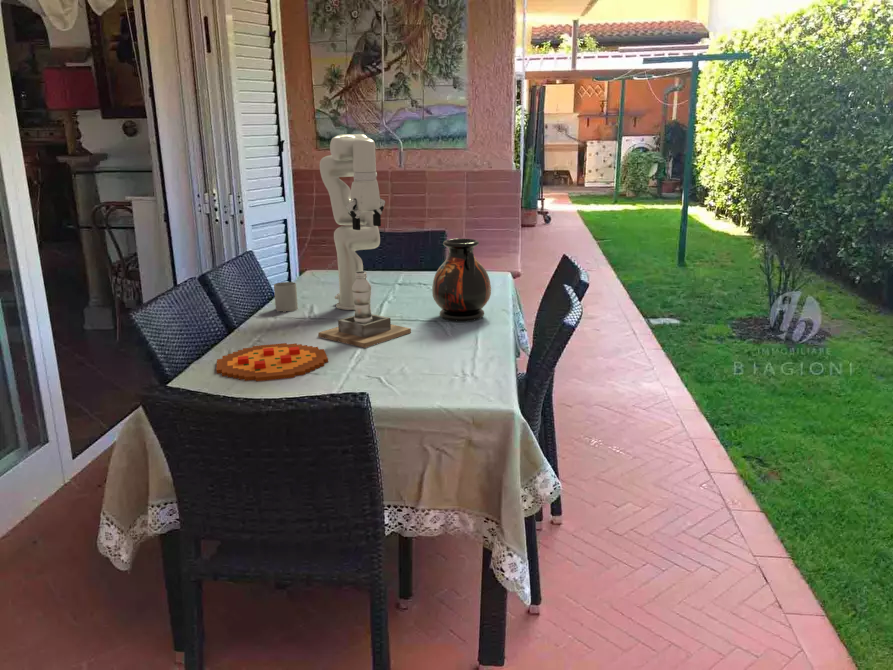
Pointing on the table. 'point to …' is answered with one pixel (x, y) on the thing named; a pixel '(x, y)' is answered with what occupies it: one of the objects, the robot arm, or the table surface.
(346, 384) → the table surface
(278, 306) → the cup
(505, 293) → the table surface
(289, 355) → the pizza
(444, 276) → the amphora vase
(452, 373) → the table surface
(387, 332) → the collar board
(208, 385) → the table surface
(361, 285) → the plastic bottle
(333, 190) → the robot arm
